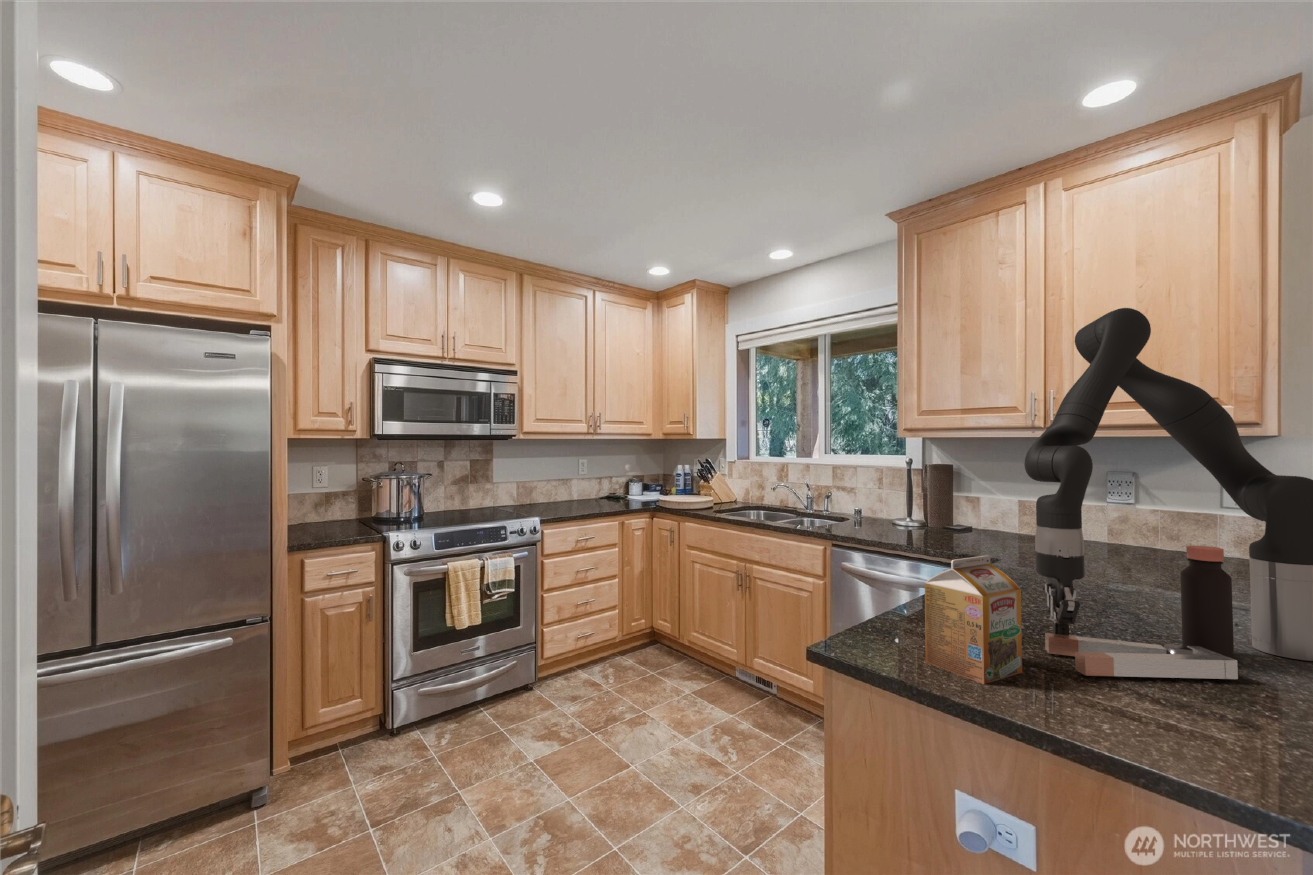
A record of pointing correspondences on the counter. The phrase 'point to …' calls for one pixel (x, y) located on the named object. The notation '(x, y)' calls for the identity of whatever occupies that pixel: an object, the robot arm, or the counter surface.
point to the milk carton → (974, 621)
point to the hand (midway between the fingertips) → (1061, 642)
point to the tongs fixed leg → (1158, 664)
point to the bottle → (1207, 601)
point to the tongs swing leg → (1105, 646)
